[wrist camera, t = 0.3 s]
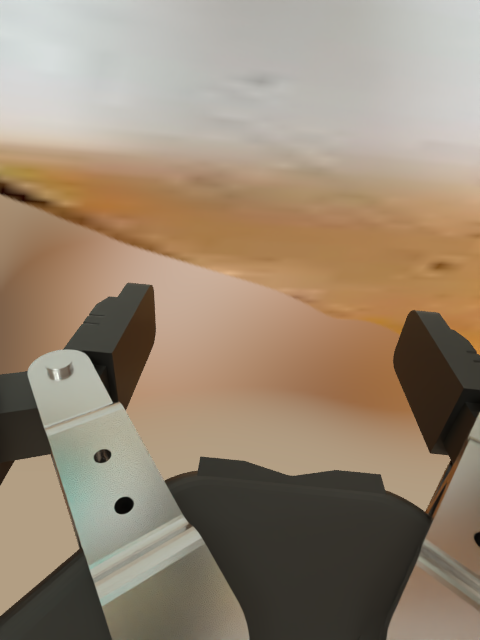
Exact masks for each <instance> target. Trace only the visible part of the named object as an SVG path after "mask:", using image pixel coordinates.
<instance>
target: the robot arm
mask: <svg viewBox="0 0 480 640" xmlns="http://www.w3.org/2000/svg"><path fill="white" fill-rule="evenodd" d="M155 332H156V324H155V304H154V290H153V287H152V285H146V284H136V283H127V284H126V286H125V287H124V288H123V290H122V292H121V293H120V294H119V296H118V297H108V298H106V299H105V300H103V301H102V302H100V303H98V304H97V305H96V306H95V307H94V308H93V310H92V311H91V313H90V314H89V316H88V317H87V318H86V319H85V321H84V322H83V324H82V325H81V326H80V327H79V329H78V330H77V332H76V333H75V334H74V336H73V337H72V338H71V339H70V341H69V342H68V343H67V345H66V347H65V348H64V349H63V350H58V351H53V352H50V353H48V354H45V355H43V356H41V357H39V358H38V359H36V360H35V361H34V362H33V363H32V364H31V365H30V367H29V369H28V371H26V372H19V373H10V374H2V375H0V485H1V483H2V481H3V479H4V478H5V476H6V474H7V473H8V471H9V469H10V468H11V466H12V464H13V463H14V461H15V460H19V459H25V458H31V457H36V456H42V455H48V454H51V457H52V460H53V464H54V467H55V470H56V474H57V477H58V480H59V483H60V487H61V490H62V493H63V496H64V499H65V503H66V505H67V509H68V512H69V515H70V519H71V522H72V525H73V529H74V532H75V536H76V539H77V542H78V546H79V550H78V551H77V552H75V553H74V554H73V555H72V556H71V557H70V558H68V559H67V560H66V561H65V562H64V563H62V564H61V565H60V566H59V567H58V568H57V569H55V570H54V571H53V572H52V573H51V574H49V575H48V576H47V577H46V578H45V579H44V580H43V581H41V582H40V583H39V584H38V585H37V586H36V587H34V588H33V589H32V590H31V591H29V592H28V593H27V594H26V595H25V596H24V597H22V598H21V599H20V600H19V601H18V602H17V603H15V604H14V605H13V606H12V607H11V608H9V609H8V610H7V611H6V612H5V613H4V614H3V615H1V616H0V640H480V356H479V354H477V352H476V350H475V349H474V348H473V346H472V345H471V344H470V342H469V341H468V340H467V339H465V338H464V337H463V336H461V335H460V334H459V333H457V332H456V331H455V330H451V329H450V328H449V326H448V325H447V324H446V322H445V321H444V319H443V318H442V317H441V315H440V314H439V313H436V312H425V311H415V310H413V311H411V312H410V313H409V314H408V316H407V318H406V321H405V324H404V327H403V329H402V332H401V335H400V338H399V341H398V343H397V346H396V349H395V352H394V359H393V363H394V369H395V372H396V374H397V377H398V379H399V381H400V384H401V386H402V388H403V391H404V393H405V395H406V398H407V400H408V402H409V405H410V407H411V409H412V412H413V414H414V416H415V419H416V421H417V424H418V426H419V428H420V431H421V433H422V435H423V438H424V440H425V442H426V445H427V447H428V449H429V452H430V453H432V454H442V455H449V457H450V459H451V461H450V462H449V464H448V466H447V468H446V470H445V472H444V474H443V476H442V478H441V480H440V482H439V484H438V486H437V488H436V491H435V493H434V495H433V497H432V499H431V501H430V503H429V505H428V507H427V509H426V511H425V512H424V511H423V510H422V509H420V508H419V507H417V506H416V505H414V504H413V503H411V502H409V501H407V500H406V499H404V498H402V497H400V496H398V495H396V494H393V493H391V492H389V491H386V490H385V489H384V485H383V481H382V478H381V475H380V474H370V473H360V472H349V471H339V470H334V471H327V472H320V473H312V474H305V475H298V476H289V475H285V474H282V473H279V472H276V471H273V470H270V469H267V468H264V467H261V466H258V465H255V464H252V463H249V462H246V461H239V460H229V459H219V458H209V457H200V463H199V468H198V471H192V472H187V473H183V474H180V475H177V476H175V477H172V478H169V479H167V480H165V481H164V480H163V478H162V476H161V474H160V472H159V471H158V469H157V467H156V465H155V463H154V462H153V460H152V458H151V456H150V454H149V452H148V451H147V449H146V447H145V445H144V443H143V442H142V440H141V438H140V436H139V434H138V433H137V431H136V429H135V427H134V425H133V423H132V422H131V420H130V418H129V416H128V414H127V413H126V409H127V406H128V404H129V402H130V399H131V397H132V395H133V392H134V390H135V387H136V385H137V383H138V380H139V378H140V376H141V373H142V371H143V368H144V366H145V364H146V361H147V359H148V357H149V354H150V352H151V349H152V347H153V344H154V340H155Z"/></svg>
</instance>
